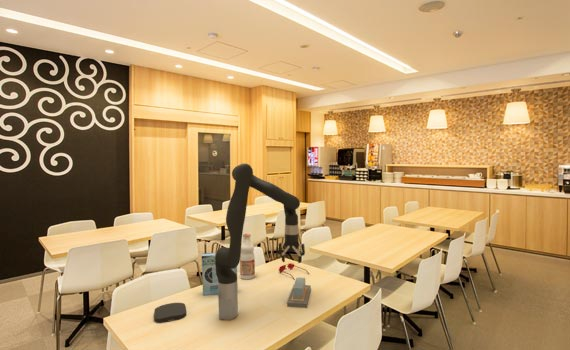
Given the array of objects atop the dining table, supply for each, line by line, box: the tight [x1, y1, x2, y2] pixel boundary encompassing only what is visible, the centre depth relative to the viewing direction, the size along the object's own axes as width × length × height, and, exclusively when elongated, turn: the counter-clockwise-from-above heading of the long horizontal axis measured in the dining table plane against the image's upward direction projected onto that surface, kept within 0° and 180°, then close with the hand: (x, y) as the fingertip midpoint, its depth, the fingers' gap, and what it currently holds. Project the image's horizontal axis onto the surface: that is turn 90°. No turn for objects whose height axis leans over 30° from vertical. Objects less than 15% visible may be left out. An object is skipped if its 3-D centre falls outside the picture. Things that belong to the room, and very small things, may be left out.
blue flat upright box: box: [201, 252, 239, 296], centre depth 182 cm, size 20×5×23 cm, turn 98°
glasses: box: [277, 262, 310, 281], centre depth 211 cm, size 14×16×5 cm
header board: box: [286, 284, 312, 309], centre depth 175 cm, size 24×10×6 cm, turn 170°
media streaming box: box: [153, 302, 187, 324], centre depth 157 cm, size 15×15×3 cm
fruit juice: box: [239, 233, 256, 281], centre depth 205 cm, size 9×9×28 cm
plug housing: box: [292, 276, 306, 299], centre depth 178 cm, size 21×5×6 cm, turn 170°
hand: (291, 262), depth 173 cm, fingers open, 8 cm apart
